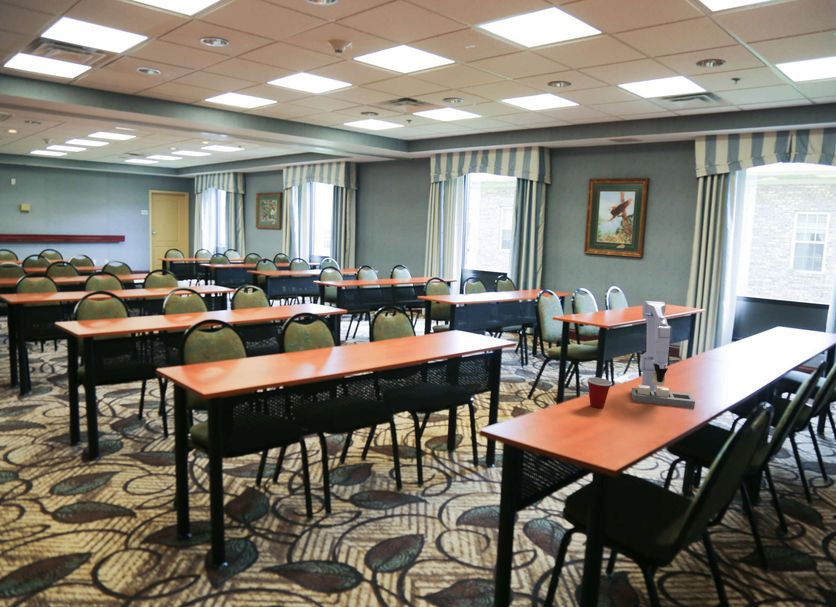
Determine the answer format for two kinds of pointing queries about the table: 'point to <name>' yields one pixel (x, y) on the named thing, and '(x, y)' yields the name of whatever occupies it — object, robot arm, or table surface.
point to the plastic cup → (598, 391)
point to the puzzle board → (661, 396)
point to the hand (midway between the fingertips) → (659, 380)
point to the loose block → (654, 380)
